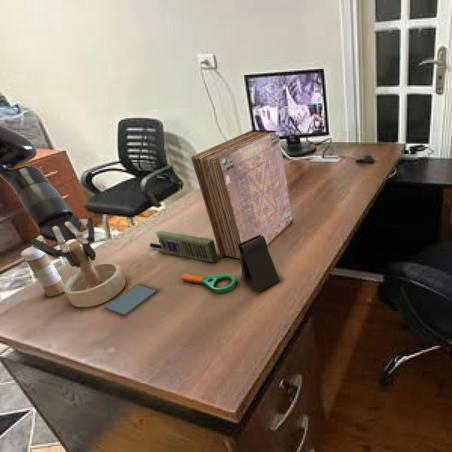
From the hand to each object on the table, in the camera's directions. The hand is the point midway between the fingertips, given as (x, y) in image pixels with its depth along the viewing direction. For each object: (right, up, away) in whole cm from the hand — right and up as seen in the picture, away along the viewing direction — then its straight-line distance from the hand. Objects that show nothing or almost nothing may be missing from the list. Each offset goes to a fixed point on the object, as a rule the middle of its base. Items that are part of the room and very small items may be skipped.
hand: (85, 262), depth 84 cm
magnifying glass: (+27, -6, +6) cm, 29 cm away
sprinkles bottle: (-14, -9, +10) cm, 19 cm away
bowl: (-2, -9, +7) cm, 11 cm away
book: (+37, +5, +24) cm, 44 cm away
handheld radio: (+15, 0, +20) cm, 25 cm away
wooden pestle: (-1, -7, +6) cm, 9 cm away
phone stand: (+41, -5, +6) cm, 41 cm away
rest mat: (+9, -10, +3) cm, 14 cm away
